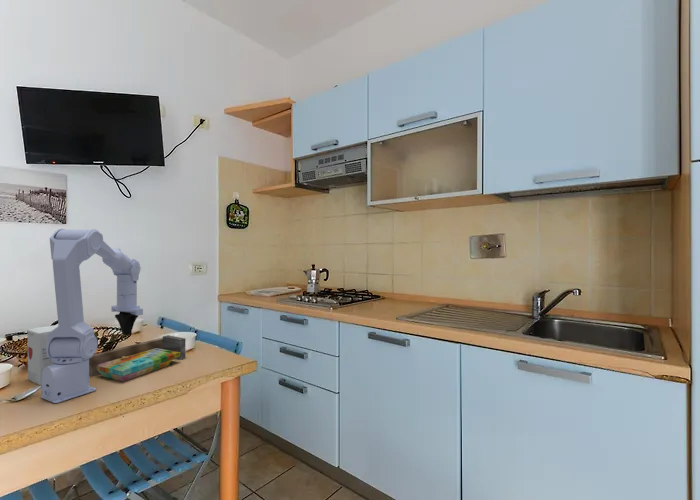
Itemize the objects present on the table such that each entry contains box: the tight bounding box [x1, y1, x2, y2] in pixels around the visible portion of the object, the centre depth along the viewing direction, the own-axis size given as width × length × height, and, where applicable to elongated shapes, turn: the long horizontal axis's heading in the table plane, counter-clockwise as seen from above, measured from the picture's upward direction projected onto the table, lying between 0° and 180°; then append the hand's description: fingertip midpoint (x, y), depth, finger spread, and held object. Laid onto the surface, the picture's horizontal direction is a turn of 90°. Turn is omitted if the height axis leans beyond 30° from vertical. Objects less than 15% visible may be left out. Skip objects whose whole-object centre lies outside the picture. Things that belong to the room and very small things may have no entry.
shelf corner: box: [89, 334, 186, 378], centre depth 115 cm, size 25×12×7 cm, turn 153°
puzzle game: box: [97, 348, 181, 382], centre depth 113 cm, size 12×5×20 cm
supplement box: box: [27, 324, 58, 386], centre depth 105 cm, size 9×9×15 cm
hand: (126, 334), depth 120 cm, fingers closed
